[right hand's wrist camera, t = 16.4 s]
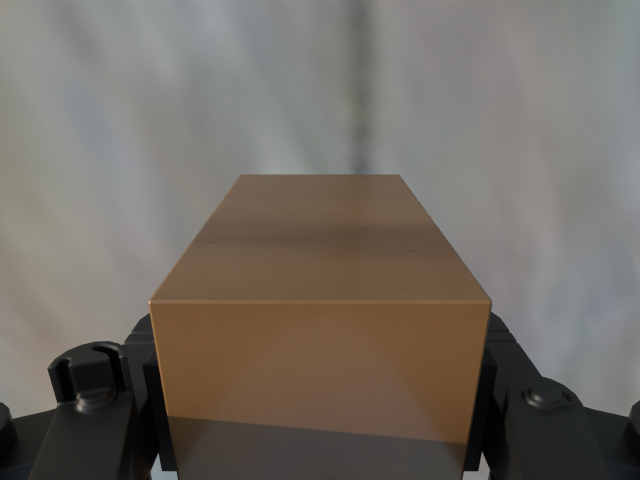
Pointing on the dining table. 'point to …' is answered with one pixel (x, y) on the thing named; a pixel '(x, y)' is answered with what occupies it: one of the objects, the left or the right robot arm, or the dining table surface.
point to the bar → (320, 336)
